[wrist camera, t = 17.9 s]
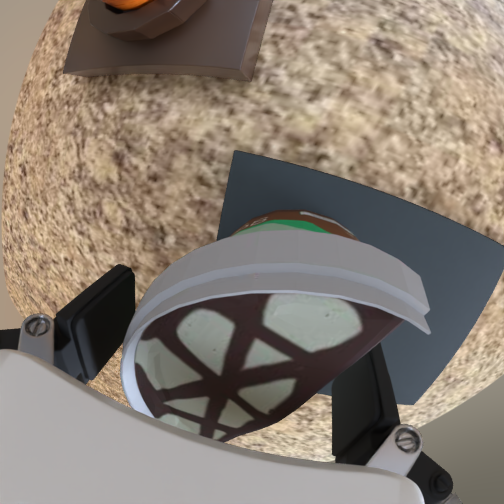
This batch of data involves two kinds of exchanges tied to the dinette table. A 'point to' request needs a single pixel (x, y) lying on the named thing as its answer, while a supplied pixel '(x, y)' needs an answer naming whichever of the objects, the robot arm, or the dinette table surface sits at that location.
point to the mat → (391, 242)
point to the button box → (169, 38)
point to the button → (127, 4)
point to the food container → (262, 323)
